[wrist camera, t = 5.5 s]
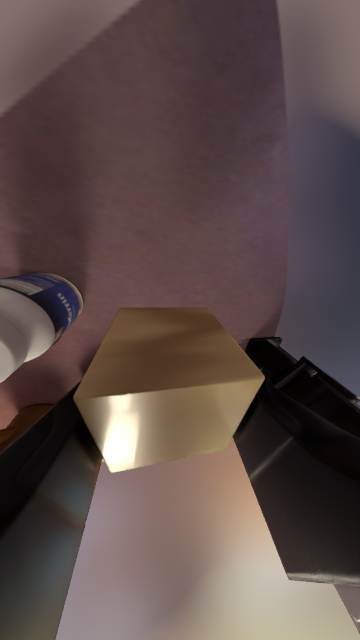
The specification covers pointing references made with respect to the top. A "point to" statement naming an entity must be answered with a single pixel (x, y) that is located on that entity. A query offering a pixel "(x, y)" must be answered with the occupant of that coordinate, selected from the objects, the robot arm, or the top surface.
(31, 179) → the top surface
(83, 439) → the robot arm
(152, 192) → the top surface
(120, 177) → the top surface
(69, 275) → the top surface
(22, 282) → the pill bottle
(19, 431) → the mug
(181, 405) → the block
